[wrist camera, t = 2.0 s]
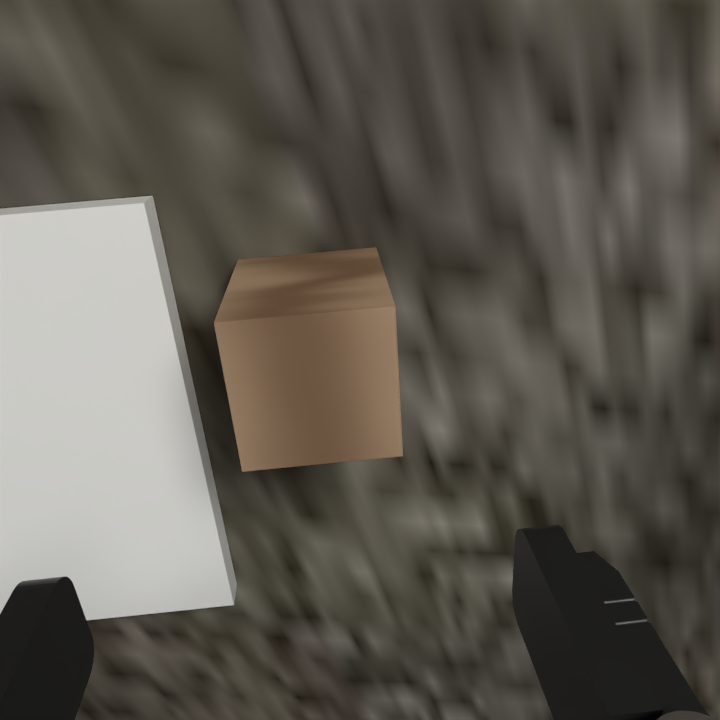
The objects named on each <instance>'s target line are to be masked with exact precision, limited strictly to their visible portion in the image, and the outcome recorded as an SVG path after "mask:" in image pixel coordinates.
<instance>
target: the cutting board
mask: <svg viewBox="0 0 720 720" xmlns="http://www.w3.org/2000/svg"><path fill="white" fill-rule="evenodd" d="M56 577H69V578H70V579H71V581H72V582H73V585H74V587H75V590H76V593H77V595H78V598H79V601H80V604H81V607H82V609H83V612H84V615H85V618H86V620H95V619H105V618H114V617H124V616H133V615H143V614H153V613H162V612H172V611H181V610H191V609H201V608H210V607H220V606H229V605H234V601H235V594H236V587H237V583H236V578H235V574H234V569H233V565H232V560H231V555H230V551H229V546H228V541H227V537H226V532H225V528H224V523H223V518H222V514H221V509H220V504H219V500H218V495H217V491H216V486H215V481H214V477H213V472H212V467H211V463H210V458H209V454H208V449H207V444H206V440H205V435H204V430H203V426H202V421H201V417H200V412H199V407H198V403H197V398H196V393H195V389H194V384H193V380H192V375H191V370H190V366H189V361H188V356H187V352H186V347H185V343H184V338H183V333H182V329H181V324H180V320H179V315H178V310H177V306H176V301H175V296H174V292H173V287H172V283H171V278H170V273H169V269H168V264H167V259H166V255H165V250H164V246H163V241H162V236H161V232H160V227H159V222H158V218H157V213H156V209H155V204H154V199H153V196H143V197H131V198H120V199H108V200H96V201H85V202H73V203H61V204H50V205H38V206H26V207H15V208H3V209H0V614H1V612H2V610H3V608H4V606H5V604H6V603H7V601H8V599H9V597H10V595H11V594H12V592H13V590H14V588H15V587H16V586H17V585H18V584H19V583H20V582H22V581H28V580H37V579H46V578H56Z"/></svg>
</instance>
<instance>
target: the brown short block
mask: <svg viewBox="0 0 720 720" xmlns="http://www.w3.org/2000/svg"><path fill="white" fill-rule="evenodd" d="M214 327H215V332H216V337H217V342H218V347H219V353H220V358H221V363H222V368H223V374H224V379H225V384H226V389H227V395H228V400H229V405H230V410H231V416H232V421H233V426H234V431H235V437H236V442H237V447H238V452H239V458H240V463H241V468H242V472H245V471H255V470H265V469H275V468H286V467H296V466H306V465H316V464H326V463H336V462H346V461H357V460H367V459H377V458H387V457H397V456H403V450H402V430H401V410H400V390H399V370H398V350H397V330H396V310H395V304H394V301H393V298H392V295H391V292H390V288H389V285H388V282H387V279H386V276H385V273H384V270H383V267H382V264H381V261H380V258H379V255H378V252H377V249H376V247H375V248H364V249H353V250H341V251H330V252H319V253H308V254H296V255H285V256H274V257H263V258H251V259H240V260H238V261H237V264H236V266H235V269H234V271H233V274H232V277H231V279H230V282H229V284H228V287H227V290H226V292H225V295H224V297H223V300H222V303H221V305H220V308H219V310H218V313H217V316H216V318H215V321H214Z"/></svg>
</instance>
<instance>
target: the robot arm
mask: <svg viewBox="0 0 720 720" xmlns="http://www.w3.org/2000/svg"><path fill="white" fill-rule="evenodd" d="M512 595H513V605H514V610H515V615H516V619H517V623H518V626H519V629H520V631H521V634H522V636H523V639H524V642H525V644H526V647H527V650H528V652H529V655H530V657H531V660H532V663H533V665H534V668H535V671H536V673H537V676H538V679H539V681H540V684H541V686H542V689H543V692H544V694H545V697H546V700H547V702H548V705H549V707H550V710H551V713H552V715H553V718H554V720H717V719H715V718H713V717H711V716H709V715H708V714H707V712H706V711H705V710H704V708H703V707H702V706H701V704H700V703H699V701H698V699H697V698H696V696H695V695H694V693H693V691H692V690H691V688H690V687H689V685H688V683H687V682H686V680H685V678H684V677H683V675H682V674H681V672H680V670H679V669H678V667H677V665H676V664H675V662H674V661H673V659H672V657H671V656H670V654H669V652H668V651H667V649H666V648H665V646H664V644H663V643H662V641H661V640H660V638H659V636H658V635H657V633H656V631H655V630H654V628H653V627H652V625H651V623H648V621H647V617H646V615H645V614H644V612H643V610H642V609H641V607H640V605H639V604H638V602H635V600H634V596H633V594H632V593H631V591H630V589H629V588H628V586H627V584H626V583H625V581H624V580H623V578H622V576H621V575H620V573H619V572H618V571H617V570H616V569H615V568H614V567H612V566H611V565H610V564H609V563H608V562H606V561H605V560H604V559H603V558H601V557H600V556H599V555H598V554H597V553H595V552H594V551H592V552H583V553H576V551H575V549H574V548H573V546H572V544H571V542H570V540H569V539H568V537H567V535H566V533H565V532H564V530H563V529H562V527H561V526H559V525H553V526H544V527H534V528H525V529H518V530H517V532H516V537H515V553H514V570H513V587H512ZM93 657H94V645H93V638H92V634H91V631H90V629H89V626H88V623H87V620H86V618H85V615H84V612H83V609H82V607H81V604H80V601H79V598H78V595H77V593H76V590H75V587H74V585H73V582H72V581H71V579H70V578H69V577H56V578H46V579H37V580H28V581H22V582H20V583H19V584H18V585H17V586H16V587H15V588H14V590H13V592H12V594H11V595H10V597H9V599H8V601H7V603H6V604H5V606H4V608H3V610H2V612H1V614H0V720H75V717H76V714H77V711H78V708H79V705H80V702H81V700H82V697H83V694H84V691H85V688H86V685H87V682H88V680H89V677H90V674H91V670H92V665H93Z"/></svg>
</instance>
